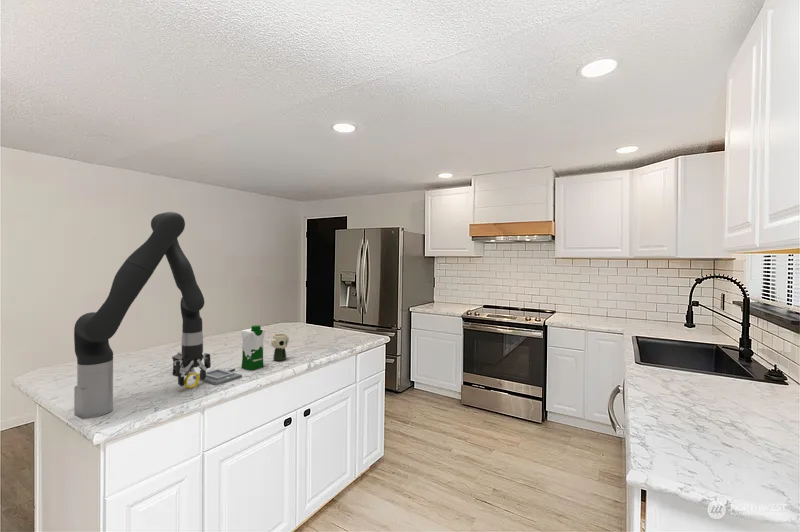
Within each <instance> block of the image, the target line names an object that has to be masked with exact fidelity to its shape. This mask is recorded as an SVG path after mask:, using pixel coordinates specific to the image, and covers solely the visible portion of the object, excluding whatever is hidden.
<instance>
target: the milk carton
mask: <svg viewBox="0 0 800 532" xmlns="http://www.w3.org/2000/svg"><path fill="white" fill-rule="evenodd" d="M265 331H266V329H262V328H261V325H258V324H257V325H252V326H251V328H247V329H242V330H240V332H241V338H242V352H241V353H242V354H241V356H242V359H241V367H240V368H241V369H244V370H248V371H254V370H255V371H256V370H257V369H260V368H264V338H265Z"/></svg>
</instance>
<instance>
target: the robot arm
mask: <svg viewBox="0 0 800 532" xmlns="http://www.w3.org/2000/svg"><path fill="white" fill-rule="evenodd" d="M150 227H151V229H152V232H151V234H150V235H149V237H148V238H147V239H146V240H145V242H143V243H142V244H141V245H140V246H139V247H137V248H136V249H135V250H134V251H133V252H132V253H131V254H130V255H129V256H128V257H127V258H126V259H125V261H124V262H123V263H122V264H121V266H120V267H119V269H118V271H117V272H116V274H115V275H114V278H113V280H112V284H111V288H110V291H109V294H108V296H107V298H106V299H105V300H104V302H103V303H102V304H101V306H100V307H99V309H98V310H97V311H95V312H94V311H92V312H87V313H85V314H84V313H83V314H82V315H81V316H79V318H78V319H77V320H76V322H75V323H74V328H73V329H74V330H73V331H74V332H73V333H74V334H73V340H74V342H73V343H74V353H75V357H76V361H77V362H76V363H77V367H76V369H77V370H76V371H77V372H76V378H77V380H76V381H77V383H76V385H75V386H73V387H74V388H73V389H74V390H73V391H74V394H73V395H74V399H73V400H74V401H73V404H74V411H73V412H74V414H73V415H74V416H76V417H77V418H79V419H81V420H85V419H89V418H97V417H100V416H104V415H107V414H108V413H110V412H112V411H113V409H114V351H113V349H112V348H111V346H110V342H109V341H110V339H111V338H112V337H113V336H114V335H115V334H116V333H117V331H118V330H119V328H120V325H121V324H122V321H123V320H124V318H125V316H126V314H127V312H128V310H129V309H130V307H131V306H132V304H133V302H134V301H135V300H136V299H137V297H138V295H139V294H140V293H141V291H142V289H143V288H144V287H145V285H146V284H147V283H148V281H149V280H150V278H151V277H152V275H153V274H154V272H155V270H156V269H157V267H158V266H159V265H160V263H161V261H162V260H163V258H164V256H165V257H166V260H167V262H168V265H169V267H170V270H171V271H170V272H171V273H172V276H173V280H174V281H175V285H176V287H177V288H178V290H179V292H180V293H181V295H182V297H181V299H180V303H179V304H180V306H179V307H180V312H181V313H180V314H181V318H182V325H181V327H182V330H181V331H182V333H181V352H182V359H181V360H179V361H177V360H174V362H172V376H173V377H177V384H178V385H179V386H180V387H184V386H185V384H184V380H185V376H186V375H185V373H186V372H187V371H188V370H189V369H192V368H194V369H195V368H199V374H200V379H201V380H204V379H205V377H206V372H207V370H208V369H211V367H212V366H211V365H212V364H211V354H210V353H207V352H205V353H204V335H203V334H204V333H203V319H202V317H201V314H200V311H201V310H202V309H203V308H204V306H205V298H204V295H203V293H202V290H201V289H200V286H199V285H198V283H197V279H196V276H195V273H194V270H193V267H192V264H191V262H190V261H189V259H188V258H187V256H186V255H185V253H184V251H183V250H182V248H181V246H180V243H179V241H178V238H179V237H180V236H181V235H182V233H183V232H184V231H185V227H186V221H185V219H184V216H182V214H180V213H178V212H174V211H167V212H163V213H158V214H156V215H154V216H153V217H152V218H151V221H150ZM203 361H204V362H203ZM181 363H182V364H183V365H182V366H181ZM180 366H181V368H180ZM185 367H186V368H185ZM184 368H185V369H184Z"/></svg>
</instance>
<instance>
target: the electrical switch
mask: <svg viewBox="0 0 800 532" xmlns="http://www.w3.org/2000/svg"><path fill="white" fill-rule="evenodd" d="M171 358H172V361H173V362H174V360H177V361H179V360H181V359H182V351H177V352H176V355H173V356H172V357H171ZM173 362H172V363H173ZM182 365H183V364H182V363H181V366H182ZM181 366H180V368H181ZM185 368H186V367H185ZM185 368H184V369H185ZM193 371H194V372H196V370H195V367H194V368H192V369H189V370H188V371H187V372H186V373H185V375H184V376H187V375H188V373H189V372H193Z"/></svg>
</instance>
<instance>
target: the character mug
mask: <svg viewBox="0 0 800 532" xmlns="http://www.w3.org/2000/svg"><path fill="white" fill-rule="evenodd" d="M289 340H290V338H289V336H288V334H287V333H285V332H283V333H273V335H272V340H271V343H270V344H271V345H270V346H271V347H272V348H274V351H273V352H274V353H273V360H274V361H284V360H287V353H286V347H287V346H288V343H289V342H290V341H289Z"/></svg>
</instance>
